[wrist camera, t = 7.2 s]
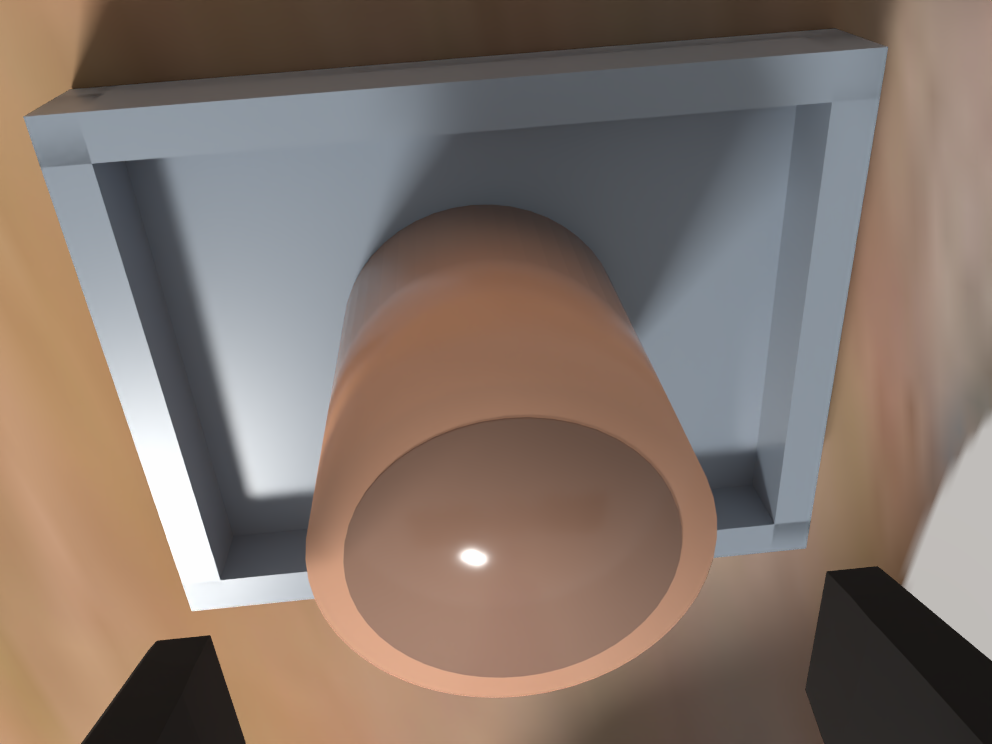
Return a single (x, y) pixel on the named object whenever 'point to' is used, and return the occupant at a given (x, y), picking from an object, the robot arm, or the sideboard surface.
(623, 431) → the cup
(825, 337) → the tray
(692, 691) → the sideboard surface
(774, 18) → the sideboard surface
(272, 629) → the sideboard surface
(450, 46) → the sideboard surface
